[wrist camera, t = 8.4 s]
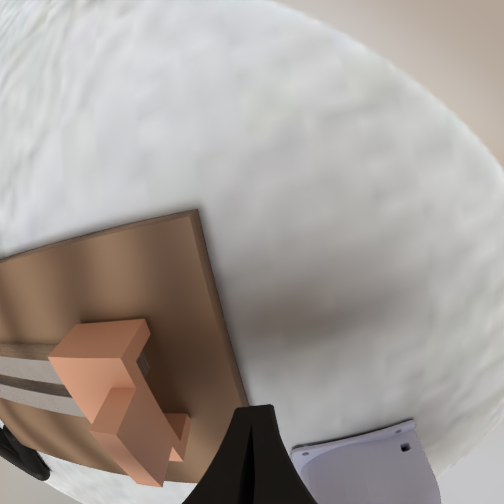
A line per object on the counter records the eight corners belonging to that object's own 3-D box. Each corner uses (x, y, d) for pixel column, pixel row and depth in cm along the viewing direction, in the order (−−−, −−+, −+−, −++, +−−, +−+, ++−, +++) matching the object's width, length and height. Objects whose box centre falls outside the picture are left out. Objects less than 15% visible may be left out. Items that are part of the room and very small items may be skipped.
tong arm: (107, 381, 13) (96, 400, 12) (125, 410, 14) (116, 429, 12) (-31, 362, 14) (-40, 371, 13) (-18, 383, 15) (-27, 392, 14)
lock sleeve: (144, 318, 12) (94, 404, 7) (191, 422, 14) (175, 500, 9) (76, 324, 12) (18, 391, 7) (130, 420, 14) (104, 487, 9)
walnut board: (197, 209, 12) (189, 216, 11) (268, 467, 18) (268, 481, 17) (-63, 281, 14) (-73, 287, 12) (26, 436, 20) (21, 444, 19)
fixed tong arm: (132, 328, 12) (119, 348, 11) (150, 368, 13) (140, 389, 11) (-46, 330, 14) (-56, 339, 12) (-34, 353, 14) (-44, 362, 13)
